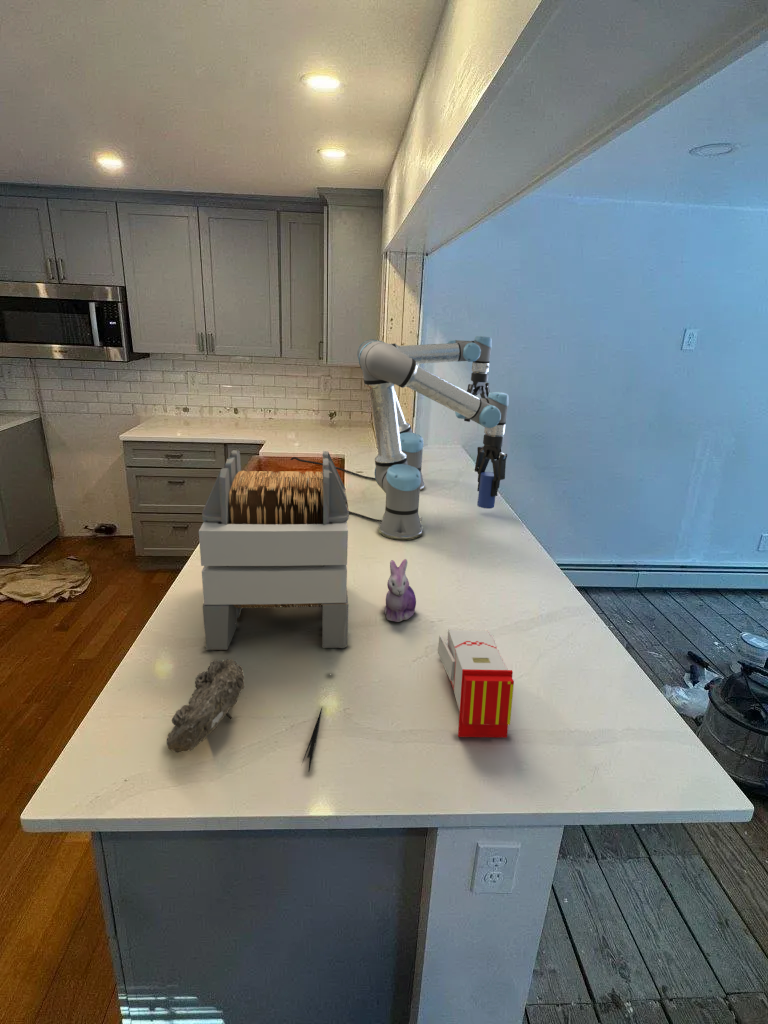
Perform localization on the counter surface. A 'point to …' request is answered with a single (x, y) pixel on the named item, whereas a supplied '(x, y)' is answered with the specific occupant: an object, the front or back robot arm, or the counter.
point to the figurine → (399, 594)
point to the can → (486, 491)
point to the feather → (313, 740)
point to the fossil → (206, 705)
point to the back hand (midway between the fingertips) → (475, 419)
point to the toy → (478, 682)
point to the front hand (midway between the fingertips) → (487, 493)
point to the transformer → (274, 548)
